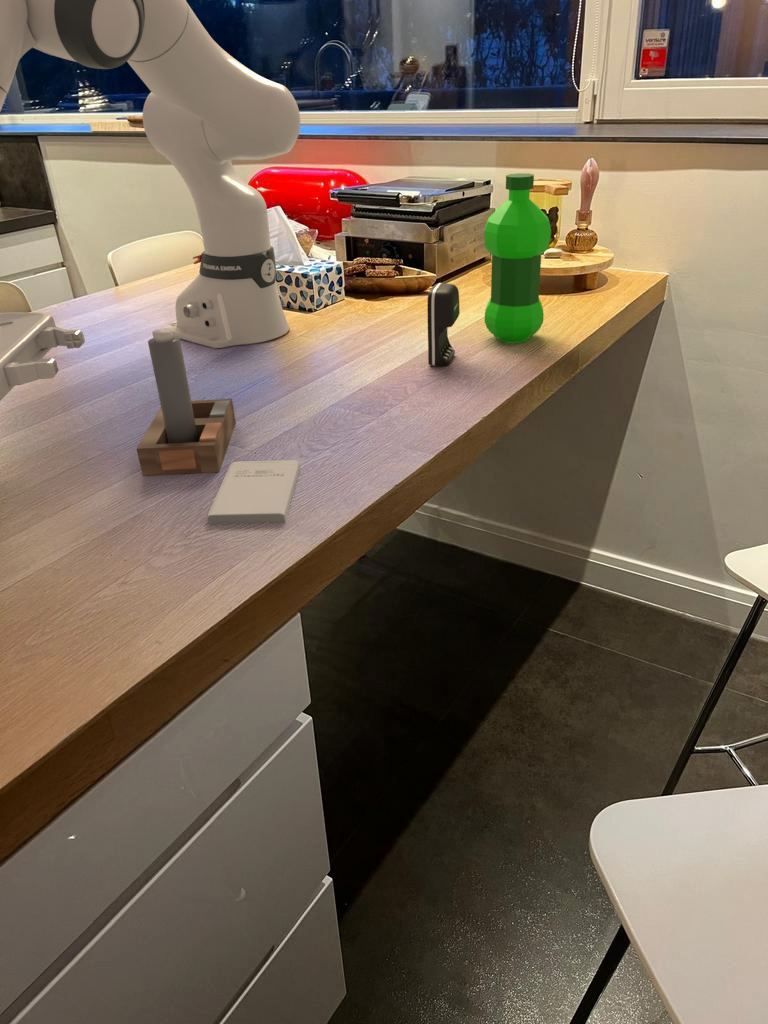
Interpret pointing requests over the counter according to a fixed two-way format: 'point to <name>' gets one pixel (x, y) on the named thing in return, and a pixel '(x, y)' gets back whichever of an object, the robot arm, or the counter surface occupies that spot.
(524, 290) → the plastic bottle
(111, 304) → the counter surface
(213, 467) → the dock
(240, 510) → the external hard drive
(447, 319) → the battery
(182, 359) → the plug
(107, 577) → the counter surface
